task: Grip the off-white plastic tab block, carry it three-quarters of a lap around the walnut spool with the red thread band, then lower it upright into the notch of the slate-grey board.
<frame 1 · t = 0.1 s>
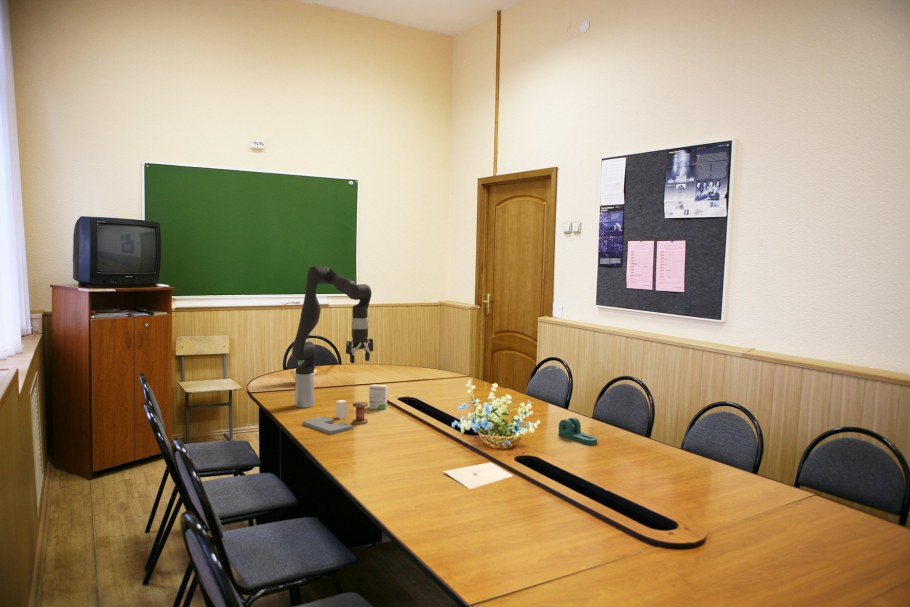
hand: (359, 361, 278), 29 cm above the table, tool pointing down, fingers open, 8 cm apart
potted cactus: (303, 383, 362), on the table
notched board: (327, 426, 274), on the table
ink box: (378, 408, 308), on the table
paper sheet: (488, 482, 212), on the table
tab block: (341, 417, 290), on the table
spool: (360, 422, 282), on the table
bracket: (578, 439, 262), on the table
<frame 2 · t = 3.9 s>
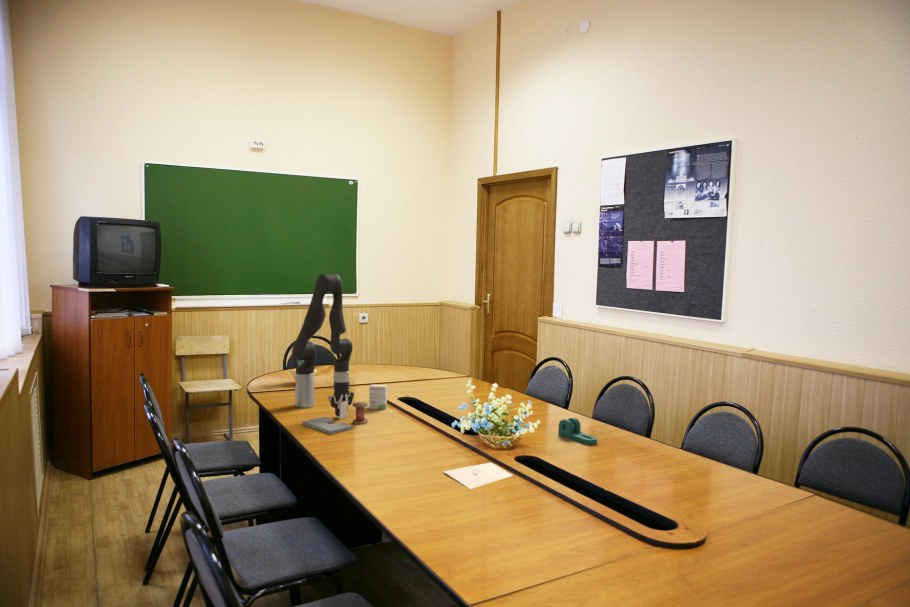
hand: (341, 414, 290), 1 cm above the table, tool pointing down, fingers closed on tab block, 4 cm apart
tab block: (341, 417, 290), on the table, touching gripper
everything else where it was.
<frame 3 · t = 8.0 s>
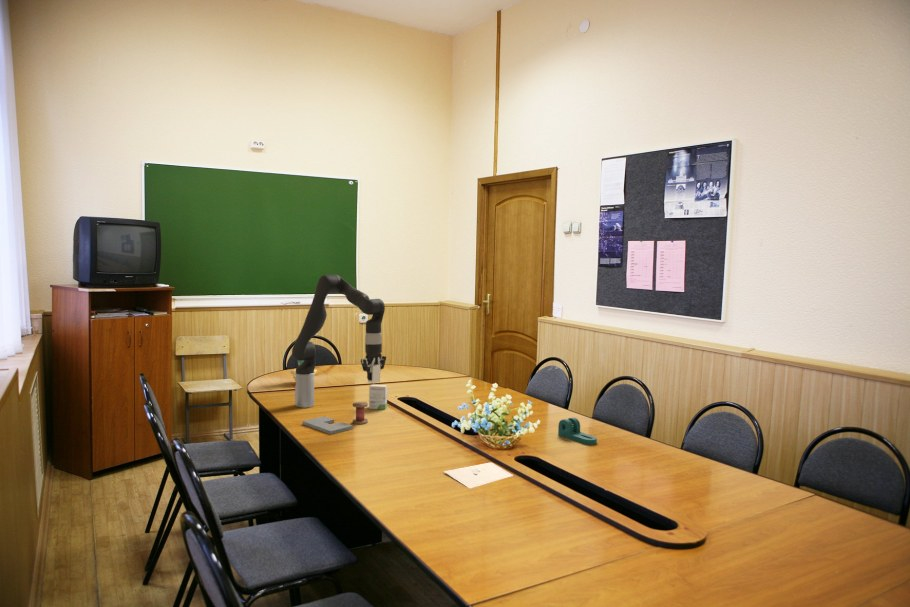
hand: (373, 379, 275), 22 cm above the table, tool pointing down, fingers closed on tab block, 4 cm apart
tab block: (373, 382, 275), point 21 cm above the table, touching gripper
everything else where it was.
when the fingers open (3 cm above the table, at t = 12.3 s): tab block drops 2 cm, on the table.
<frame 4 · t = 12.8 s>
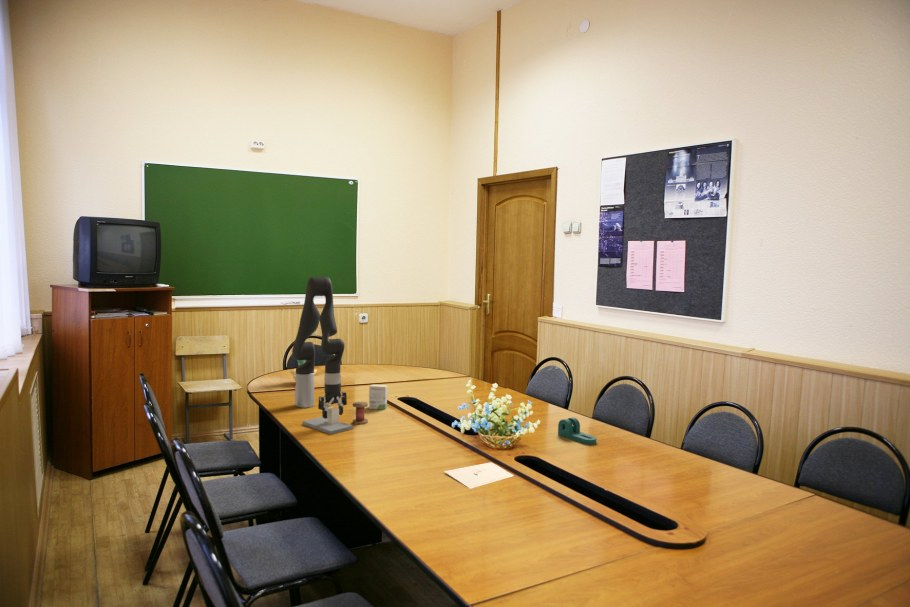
hand: (332, 416, 276), 4 cm above the table, tool pointing down, fingers open, 8 cm apart
tab block: (332, 425, 276), on the table
everything else where it was.
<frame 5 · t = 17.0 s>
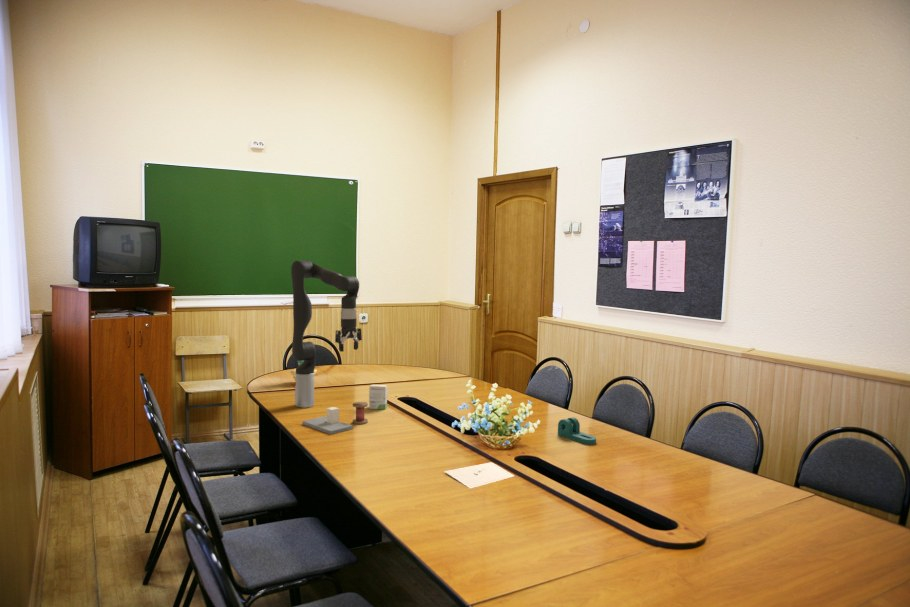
hand: (348, 350, 292), 32 cm above the table, tool pointing down, fingers open, 8 cm apart
nothing on the table moved.
at the end: tab block 0.1 cm from the target spot on the notched board, point 0.0 cm above the notched board's base; tab block tilted 0°; the gripper is holding nothing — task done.
